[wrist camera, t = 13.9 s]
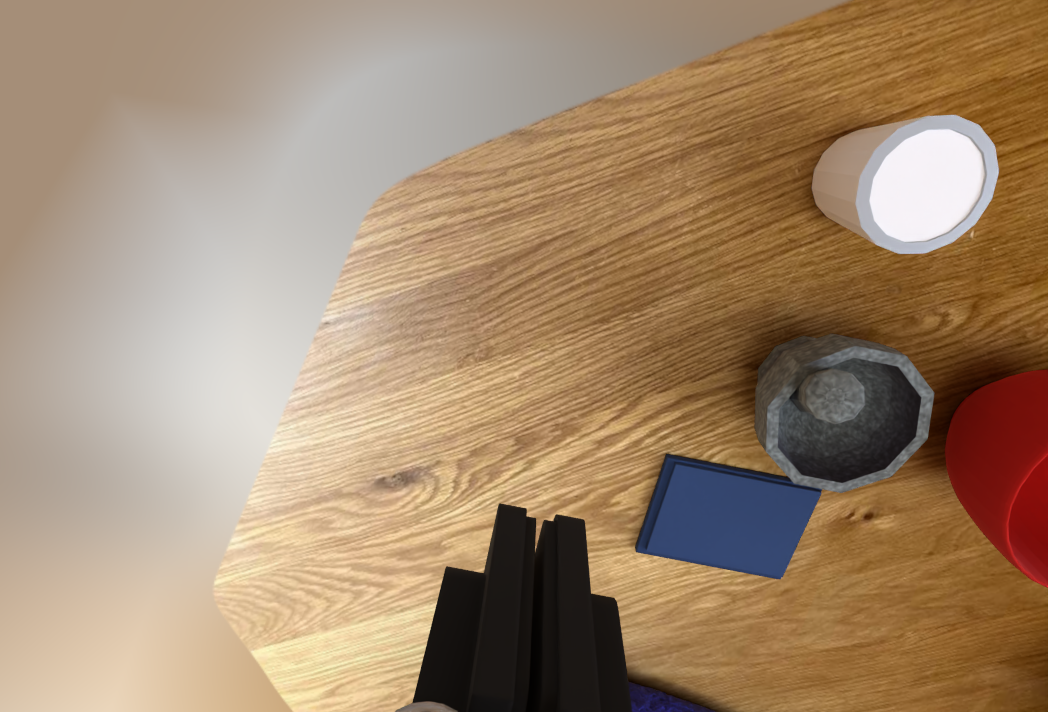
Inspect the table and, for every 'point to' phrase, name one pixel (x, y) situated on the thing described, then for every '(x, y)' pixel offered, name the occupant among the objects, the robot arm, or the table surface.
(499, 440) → the table surface
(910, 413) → the mortar and pestle
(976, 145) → the beige tapered cup
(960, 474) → the ceramic cup
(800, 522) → the blue flat slab
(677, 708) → the towel
